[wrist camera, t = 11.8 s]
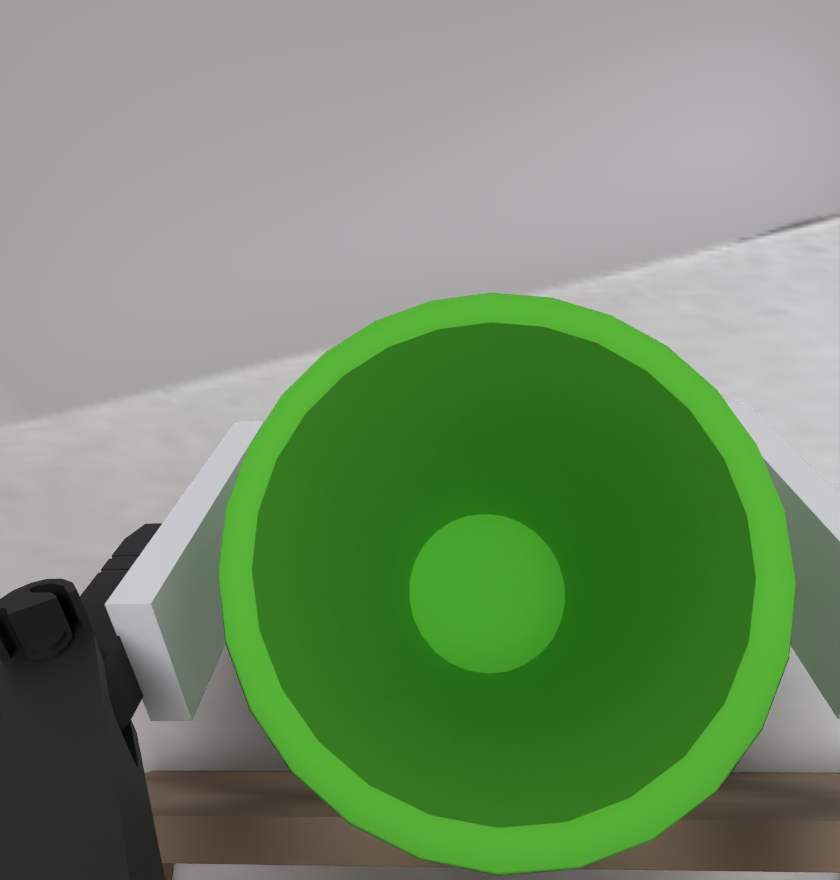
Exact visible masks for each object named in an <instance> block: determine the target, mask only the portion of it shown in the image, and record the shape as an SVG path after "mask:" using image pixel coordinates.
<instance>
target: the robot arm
mask: <svg viewBox="0 0 840 880" xmlns="http://www.w3.org/2000/svg"><path fill="white" fill-rule="evenodd" d="M727 404H728V406H729V407H730V408H731V410H732V411H733V413H734V414H735V415H736V417H737V418H738V419H739V421H740V422H741V424H742V425H743V426H744V428H745V429H746V430H747V432H748V433H749V435H750V436H751V437H752V439H753V440H754V441H755V443H756V444H757V446H758V449H759V451H760V453H761V456H762V458H763V460H764V463H765V465H766V467H767V470H768V472H769V475H770V477H771V479H772V482H773V484H774V486H775V489H776V491H777V494H778V496H779V498H780V501H781V503H782V505H783V508H784V511H785V518H786V524H787V530H788V536H789V543H790V549H791V555H792V561H793V567H794V574H795V580H796V588H795V599H794V610H793V620H792V631H791V642H790V645H791V647H792V648H793V650H794V651H795V653H796V654H797V656H798V658H799V659H800V661H801V662H802V664H803V665H804V667H805V668H806V670H807V672H808V673H809V675H810V676H811V678H812V679H813V681H814V682H815V684H816V686H817V687H818V689H819V690H820V692H821V693H822V695H823V697H824V698H825V700H826V701H827V703H828V704H829V706H830V707H831V709H832V711H833V712H834V714H835V715H836V717H837V718H840V492H839V491H838V490H837V489H836V488H835V487H834V486H833V485H832V484H830V483H829V482H828V481H827V480H826V479H825V478H824V477H823V476H822V475H821V474H820V473H819V472H818V471H817V470H816V469H815V468H814V467H813V466H812V465H811V464H810V463H809V462H808V461H807V460H806V459H805V458H804V457H803V456H802V455H800V454H799V453H798V452H797V451H796V450H795V449H794V448H793V447H792V446H791V445H790V444H789V443H788V442H787V441H786V440H785V439H784V438H783V437H782V436H781V435H780V434H779V433H778V432H777V431H776V430H775V429H774V428H773V427H772V426H770V425H769V424H768V423H767V422H766V421H765V420H764V419H763V418H762V417H761V416H760V415H759V414H758V413H757V412H756V411H755V410H754V409H753V408H752V407H751V406H750V405H749V404H748V403H747V402H732V403H727ZM263 424H264V421H243V422H234V424H233V425H232V427H231V428H230V429H229V431H228V432H227V434H226V435H225V436H224V438H223V439H222V441H221V442H220V443H219V445H218V446H217V448H216V449H215V450H214V452H213V453H212V455H211V456H210V457H209V459H208V460H207V462H206V463H205V464H204V466H203V467H202V469H201V470H200V471H199V473H198V474H197V476H196V477H195V478H194V480H193V481H192V483H191V484H190V485H189V487H188V488H187V490H186V491H185V492H184V494H183V495H182V497H181V498H180V499H179V501H178V502H177V504H176V505H175V506H174V508H173V509H172V511H171V512H170V513H169V515H168V516H167V518H166V519H165V520H164V522H163V523H161V524H145V525H143V526H142V527H141V528H139V529H138V530H136V531H135V532H134V533H132V534H131V535H129V536H128V537H127V538H125V539H124V541H123V542H122V543H121V544H120V546H119V547H118V548H117V550H116V551H115V552H114V553H113V555H112V559H109V560H108V561H107V562H106V564H105V565H104V566H103V568H102V569H101V573H98V574H97V575H96V577H95V578H94V579H93V580H92V582H91V583H90V584H89V586H88V587H87V588H86V589H85V591H84V592H83V593H82V595H81V596H79V594H78V592H77V589H76V588H75V586H74V584H73V583H72V582H69V581H67V580H64V579H45V580H41V581H37V582H33V583H30V584H27V585H25V586H23V587H20V588H18V589H16V590H13V591H12V592H10V593H9V594H7V595H6V596H4V597H3V598H1V599H0V880H165V876H164V871H163V865H162V860H161V855H160V850H159V845H158V840H157V835H156V830H155V824H154V819H153V814H152V809H151V804H150V799H149V794H148V789H147V783H146V778H145V773H144V768H143V763H142V758H141V753H140V748H139V743H138V737H137V733H136V730H135V728H134V725H133V723H132V721H131V718H132V716H133V715H134V713H135V711H136V709H137V707H138V705H139V703H140V701H141V700H143V702H144V705H145V708H146V710H147V713H148V715H149V718H150V720H151V721H192V719H193V717H194V715H195V712H196V710H197V708H198V706H199V703H200V701H201V699H202V696H203V694H204V692H205V689H206V687H207V685H208V682H209V680H210V678H211V675H212V673H213V671H214V668H215V666H216V664H217V662H218V659H219V657H220V655H221V652H222V650H223V648H224V645H225V634H224V625H223V616H222V607H221V598H220V589H219V580H218V569H219V561H220V553H221V545H222V537H223V529H224V520H225V512H226V507H227V504H228V502H229V499H230V496H231V493H232V491H233V488H234V485H235V482H236V480H237V477H238V474H239V471H240V469H241V466H242V463H243V460H244V458H245V455H246V452H247V449H248V447H249V445H250V444H251V442H252V441H253V439H254V438H255V436H256V435H257V433H258V431H259V430H260V428H261V427H262V425H263Z"/></svg>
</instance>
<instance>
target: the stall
mask: <svg viewBox="0 0 840 880" xmlns="http://www.w3.org/2000/svg"><path fill="white" fill-rule="evenodd" d="M145 778H146V783H147V789H148V794H149V799H150V804H151V809H152V814H153V819H154V824H155V830H156V835H157V840H158V845H159V850H160V855H161V860H162V865H163V871H164V876H165V880H172V870H173V863H189V864H261V865H333V866H404V867H453V866H448V865H443V864H438V863H433V862H428V861H423V860H419V859H417V858H415V857H413V856H411V855H409V854H407V853H405V852H403V851H401V850H399V849H398V848H396V847H394V846H392V845H390V844H388V843H386V842H384V841H382V840H380V839H378V838H376V837H374V836H372V835H370V834H368V833H366V832H364V831H362V830H360V829H358V828H356V827H354V826H352V825H350V824H349V823H347V822H346V821H345V820H344V819H343V818H342V817H341V816H340V815H338V814H337V813H336V812H335V811H334V810H333V809H332V808H331V807H330V806H328V805H327V804H326V803H325V802H324V801H323V800H322V799H321V798H319V797H318V796H317V795H316V794H315V793H314V792H313V791H312V790H310V789H309V788H308V787H307V786H306V785H305V784H304V783H303V782H302V781H300V780H299V779H298V778H297V777H296V776H295V775H294V774H293V773H292V772H291V771H151V772H148V773H146V774H145ZM580 869H619V870H691V871H763V872H835V873H840V773H730V774H729V775H728V777H727V778H726V779H725V781H724V782H723V784H722V785H721V786H720V788H719V789H718V790H717V792H716V793H715V794H713V795H712V796H711V797H709V798H708V799H707V800H705V801H704V802H703V803H701V804H700V805H699V806H698V807H696V808H695V809H694V810H692V811H691V812H690V813H688V814H687V815H686V816H684V817H683V818H682V819H681V820H679V821H678V822H677V823H675V824H674V825H673V826H671V827H670V828H669V829H667V830H666V831H665V832H664V833H662V834H661V835H660V836H658V837H657V838H656V839H654V840H653V841H650V842H648V843H645V844H643V845H640V846H637V847H635V848H632V849H630V850H627V851H624V852H622V853H619V854H616V855H614V856H611V857H609V858H606V859H603V860H601V861H598V862H596V863H593V864H590V865H588V866H585V867H583V868H580Z"/></svg>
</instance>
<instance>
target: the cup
mask: <svg viewBox="0 0 840 880" xmlns="http://www.w3.org/2000/svg"><path fill="white" fill-rule="evenodd" d="M218 580H219V589H220V598H221V607H222V616H223V625H224V634H225V643H226V646H227V649H228V651H229V654H230V657H231V660H232V662H233V665H234V668H235V671H236V673H237V676H238V679H239V682H240V684H241V687H242V690H243V693H244V695H245V698H246V701H247V704H248V707H249V709H250V711H251V713H252V714H253V716H254V717H255V719H256V720H257V722H258V723H259V725H260V726H261V728H262V729H263V731H264V732H265V734H266V735H267V737H268V738H269V740H270V741H271V743H272V744H273V746H274V747H275V749H276V750H277V752H278V753H279V755H280V756H281V758H282V759H283V761H284V762H285V764H286V765H287V767H288V768H289V770H290V771H291V772H292V773H293V774H294V775H295V776H296V777H297V778H298V779H299V780H300V781H302V782H303V783H304V784H305V785H306V786H307V787H308V788H309V789H310V790H312V791H313V792H314V793H315V794H316V795H317V796H318V797H319V798H321V799H322V800H323V801H324V802H325V803H326V804H327V805H328V806H330V807H331V808H332V809H333V810H334V811H335V812H336V813H337V814H338V815H340V816H341V817H342V818H343V819H344V820H345V821H346V822H347V823H349V824H350V825H352V826H354V827H356V828H358V829H360V830H362V831H364V832H366V833H368V834H370V835H372V836H374V837H376V838H378V839H380V840H382V841H384V842H386V843H388V844H390V845H392V846H394V847H396V848H398V849H399V850H401V851H403V852H405V853H407V854H409V855H411V856H413V857H415V858H417V859H419V860H423V861H428V862H433V863H438V864H443V865H448V866H453V867H458V868H463V869H468V870H473V871H478V872H483V873H488V874H493V875H498V876H499V875H511V874H524V873H536V872H548V871H561V870H573V869H580V868H583V867H585V866H588V865H590V864H593V863H596V862H598V861H601V860H603V859H606V858H609V857H611V856H614V855H616V854H619V853H622V852H624V851H627V850H630V849H632V848H635V847H637V846H640V845H643V844H645V843H648V842H650V841H653V840H654V839H656V838H657V837H658V836H660V835H661V834H662V833H664V832H665V831H666V830H667V829H669V828H670V827H671V826H673V825H674V824H675V823H677V822H678V821H679V820H681V819H682V818H683V817H684V816H686V815H687V814H688V813H690V812H691V811H692V810H694V809H695V808H696V807H698V806H699V805H700V804H701V803H703V802H704V801H705V800H707V799H708V798H709V797H711V796H712V795H713V794H715V793H716V792H717V790H718V789H719V788H720V786H721V785H722V784H723V782H724V781H725V779H726V778H727V777H728V775H729V774H730V773H731V771H732V770H733V769H734V767H735V766H736V765H737V763H738V762H739V760H740V759H741V758H742V756H743V755H744V754H745V752H746V751H747V750H748V748H749V747H750V745H751V744H752V743H753V741H754V740H755V739H756V737H757V736H758V735H759V733H760V732H761V731H762V729H763V726H764V723H765V721H766V718H767V715H768V713H769V710H770V707H771V705H772V702H773V699H774V697H775V694H776V691H777V689H778V686H779V683H780V681H781V678H782V675H783V673H784V670H785V667H786V665H787V662H788V659H789V653H790V642H791V631H792V620H793V610H794V599H795V588H796V580H795V574H794V567H793V561H792V555H791V549H790V543H789V536H788V530H787V524H786V518H785V511H784V508H783V505H782V503H781V501H780V498H779V496H778V494H777V491H776V489H775V486H774V484H773V482H772V479H771V477H770V475H769V472H768V470H767V467H766V465H765V463H764V460H763V458H762V456H761V453H760V451H759V449H758V446H757V444H756V443H755V441H754V440H753V439H752V437H751V436H750V435H749V433H748V432H747V430H746V429H745V428H744V426H743V425H742V424H741V422H740V421H739V419H738V418H737V417H736V415H735V414H734V413H733V411H732V410H731V408H730V407H729V406H728V404H727V403H726V402H725V400H724V399H723V398H722V396H721V395H720V393H719V392H718V391H717V389H716V388H714V387H713V386H712V385H711V384H710V383H709V382H708V381H706V380H705V379H704V378H703V377H702V376H701V375H699V374H698V373H697V372H696V371H695V370H694V369H693V368H691V367H690V366H689V365H688V364H687V363H686V362H685V361H683V360H682V359H681V358H680V357H679V356H678V355H677V354H675V353H674V352H673V351H672V350H671V349H670V348H669V347H667V346H666V345H664V344H662V343H660V342H659V341H657V340H655V339H653V338H651V337H650V336H648V335H646V334H644V333H642V332H640V331H639V330H637V329H635V328H633V327H631V326H629V325H628V324H626V323H624V322H622V321H620V320H619V319H617V318H615V317H613V316H611V315H608V314H605V313H601V312H598V311H595V310H591V309H588V308H585V307H581V306H578V305H574V304H571V303H568V302H564V301H561V300H558V299H554V298H549V297H537V296H524V295H511V294H498V293H487V294H479V295H472V296H465V297H458V298H449V299H442V300H434V301H430V302H427V303H424V304H422V305H419V306H416V307H413V308H410V309H408V310H405V311H402V312H399V313H397V314H394V315H391V316H388V317H385V318H382V319H380V320H377V321H375V322H373V323H372V324H370V325H368V326H367V327H365V328H364V329H362V330H361V331H359V332H357V333H356V334H354V335H352V336H351V337H349V338H348V339H346V340H344V341H343V342H341V343H340V344H338V345H336V346H335V347H333V348H332V349H330V350H328V351H327V352H325V353H324V354H323V355H322V356H321V357H320V358H319V359H318V360H317V361H316V362H315V363H314V364H313V365H312V366H311V367H310V368H309V369H308V370H307V371H306V372H305V373H304V374H303V375H302V376H301V377H300V378H299V379H298V380H297V381H296V382H295V383H294V384H293V385H292V386H291V387H290V388H289V389H288V390H287V391H286V392H285V393H284V394H283V395H282V396H281V397H280V399H279V400H278V402H277V404H276V405H275V407H274V408H273V410H272V411H271V413H270V414H269V416H268V418H267V419H266V421H265V422H264V424H263V425H262V427H261V428H260V430H259V431H258V433H257V435H256V436H255V438H254V439H253V441H252V442H251V444H250V445H249V447H248V449H247V452H246V455H245V458H244V460H243V463H242V466H241V469H240V471H239V474H238V477H237V480H236V482H235V485H234V488H233V491H232V493H231V496H230V499H229V502H228V504H227V507H226V512H225V520H224V529H223V537H222V545H221V553H220V561H219V569H218Z"/></svg>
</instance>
